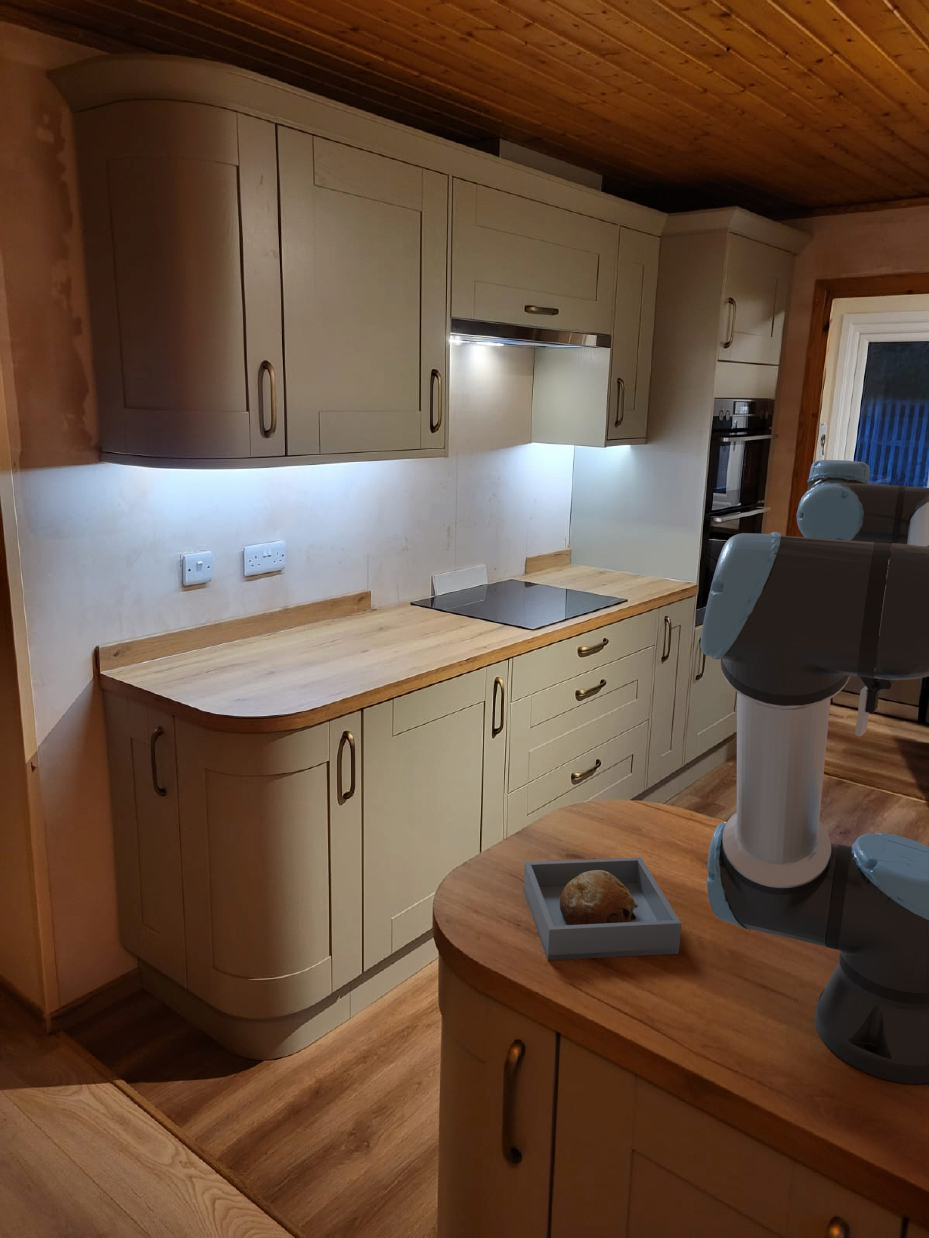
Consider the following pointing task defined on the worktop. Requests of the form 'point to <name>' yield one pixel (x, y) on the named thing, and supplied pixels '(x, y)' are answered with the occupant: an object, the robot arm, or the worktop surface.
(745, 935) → the worktop surface
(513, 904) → the worktop surface
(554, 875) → the bread tray
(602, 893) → the bread roll
